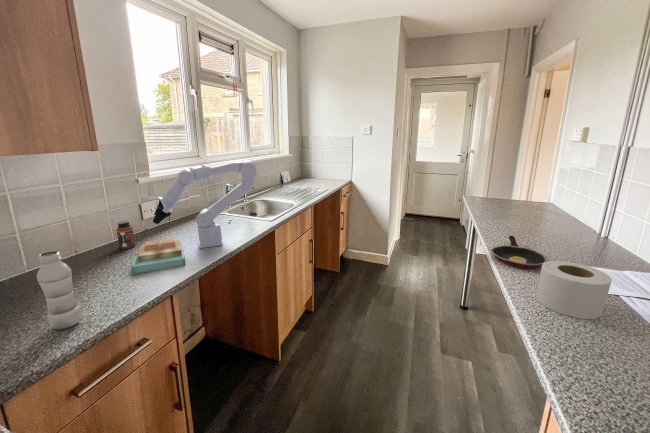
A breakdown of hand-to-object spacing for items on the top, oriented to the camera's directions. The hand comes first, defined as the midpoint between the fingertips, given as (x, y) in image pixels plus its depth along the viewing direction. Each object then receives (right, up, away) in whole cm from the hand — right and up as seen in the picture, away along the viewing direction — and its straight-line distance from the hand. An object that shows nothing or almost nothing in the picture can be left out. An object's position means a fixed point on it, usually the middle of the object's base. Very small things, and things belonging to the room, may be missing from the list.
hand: (155, 219), depth 127 cm
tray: (+9, -17, -13) cm, 23 cm away
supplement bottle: (-15, -12, +4) cm, 20 cm away
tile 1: (0, -11, -4) cm, 11 cm away
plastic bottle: (+4, -27, -49) cm, 56 cm away
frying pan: (+149, -15, -3) cm, 150 cm away
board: (+4, -14, -3) cm, 15 cm away
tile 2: (+6, -10, -1) cm, 12 cm away
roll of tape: (+143, -25, -39) cm, 150 cm away
